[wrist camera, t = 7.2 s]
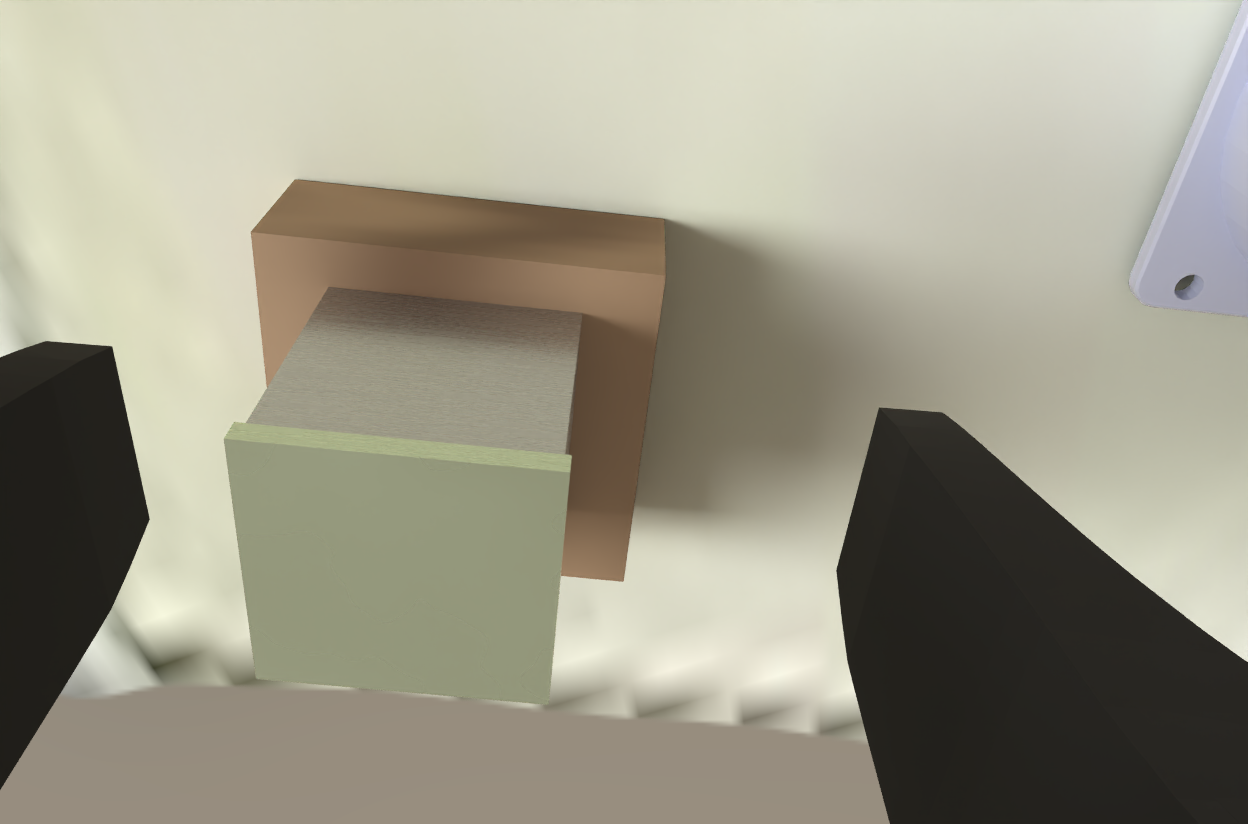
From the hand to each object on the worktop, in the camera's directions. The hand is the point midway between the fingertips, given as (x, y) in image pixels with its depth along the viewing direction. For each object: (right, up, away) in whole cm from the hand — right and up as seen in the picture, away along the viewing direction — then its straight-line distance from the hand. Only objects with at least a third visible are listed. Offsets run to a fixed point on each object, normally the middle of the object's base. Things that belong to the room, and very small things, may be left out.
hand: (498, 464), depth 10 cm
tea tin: (-2, +1, +9) cm, 9 cm away
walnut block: (-2, +2, +11) cm, 12 cm away
